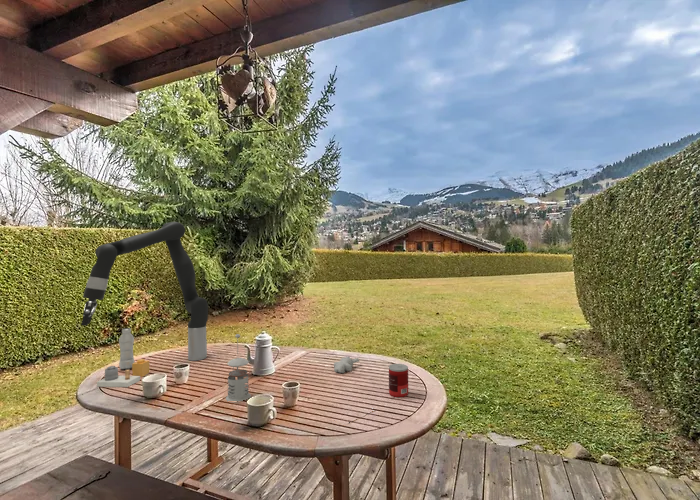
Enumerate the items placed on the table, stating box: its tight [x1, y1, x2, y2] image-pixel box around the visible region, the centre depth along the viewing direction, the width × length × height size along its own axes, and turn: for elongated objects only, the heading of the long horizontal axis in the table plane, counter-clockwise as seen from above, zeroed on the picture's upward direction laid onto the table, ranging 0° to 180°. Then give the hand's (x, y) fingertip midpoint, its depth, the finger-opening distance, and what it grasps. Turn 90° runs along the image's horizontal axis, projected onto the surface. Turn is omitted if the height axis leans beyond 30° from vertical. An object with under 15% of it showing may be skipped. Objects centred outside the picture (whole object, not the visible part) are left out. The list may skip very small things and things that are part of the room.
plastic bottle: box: [118, 327, 136, 370], centre depth 175 cm, size 6×7×20 cm
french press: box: [225, 333, 252, 402], centre depth 140 cm, size 10×12×25 cm
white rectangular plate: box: [96, 375, 141, 388], centre depth 155 cm, size 8×14×2 cm, turn 86°
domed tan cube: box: [131, 358, 150, 378], centre depth 166 cm, size 5×5×7 cm
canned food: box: [388, 363, 409, 398], centre depth 140 cm, size 8×8×11 cm
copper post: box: [124, 368, 131, 380], centre depth 155 cm, size 2×2×4 cm
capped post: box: [104, 365, 119, 381], centre depth 155 cm, size 5×5×5 cm
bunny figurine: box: [333, 356, 360, 374], centre depth 171 cm, size 10×5×15 cm
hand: (85, 324), depth 154 cm, fingers open, 8 cm apart
